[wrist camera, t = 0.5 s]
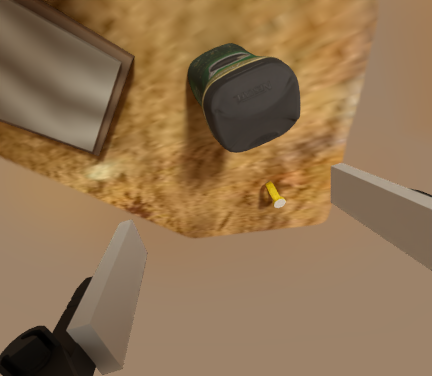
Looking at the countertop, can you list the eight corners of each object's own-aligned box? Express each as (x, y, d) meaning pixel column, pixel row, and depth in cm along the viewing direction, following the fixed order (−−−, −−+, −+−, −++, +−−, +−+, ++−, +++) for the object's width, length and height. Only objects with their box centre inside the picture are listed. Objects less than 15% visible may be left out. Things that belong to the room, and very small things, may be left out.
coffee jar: (200, 111, 36) (225, 170, 22) (180, 62, 31) (194, 99, 17) (252, 88, 36) (312, 133, 22) (240, 34, 31) (307, 47, 16)
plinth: (-18, -35, 22) (-46, -44, 19) (134, 56, 30) (131, 60, 27) (-21, 101, 30) (-42, 111, 26) (102, 147, 37) (97, 159, 34)
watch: (277, 190, 53) (288, 208, 48) (267, 196, 53) (277, 213, 49) (271, 176, 49) (282, 193, 44) (260, 181, 49) (270, 199, 45)
